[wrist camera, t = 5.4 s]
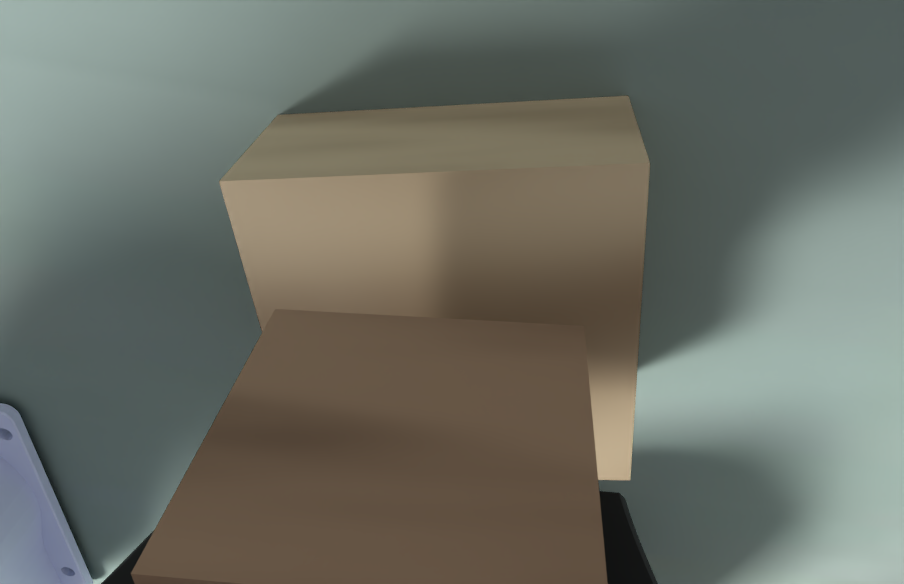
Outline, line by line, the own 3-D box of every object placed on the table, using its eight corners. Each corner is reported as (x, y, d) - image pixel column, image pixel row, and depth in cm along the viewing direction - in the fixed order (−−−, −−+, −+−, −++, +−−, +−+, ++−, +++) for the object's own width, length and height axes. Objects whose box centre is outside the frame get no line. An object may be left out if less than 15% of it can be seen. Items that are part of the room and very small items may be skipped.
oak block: (615, 371, 20) (630, 480, 17) (339, 373, 21) (302, 475, 18) (626, 91, 16) (650, 162, 13) (281, 110, 17) (219, 181, 14)
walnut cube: (559, 534, 14) (567, 833, 10) (308, 514, 15) (216, 793, 10) (584, 326, 11) (610, 616, 7) (275, 309, 12) (130, 573, 8)
